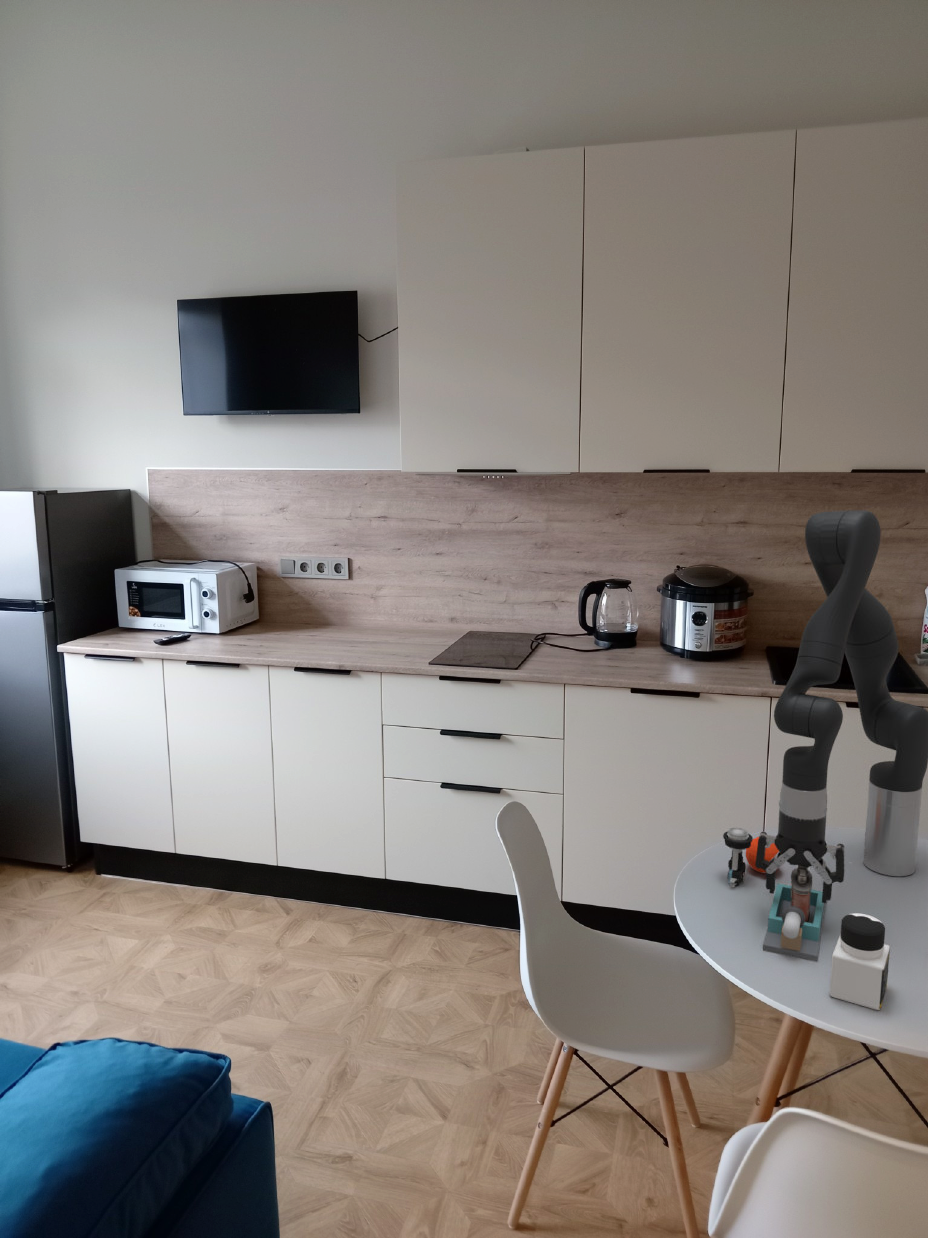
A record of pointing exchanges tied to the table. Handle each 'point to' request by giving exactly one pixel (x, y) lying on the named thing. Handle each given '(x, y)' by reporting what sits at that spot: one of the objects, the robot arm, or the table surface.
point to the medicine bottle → (860, 962)
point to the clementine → (752, 853)
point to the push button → (737, 853)
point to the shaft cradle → (794, 925)
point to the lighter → (801, 890)
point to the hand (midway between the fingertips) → (797, 896)
